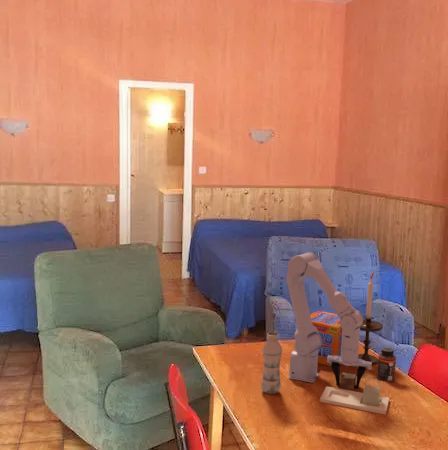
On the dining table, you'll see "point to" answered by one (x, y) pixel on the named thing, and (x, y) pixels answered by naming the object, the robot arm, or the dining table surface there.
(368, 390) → the sage block
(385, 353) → the supplement bottle
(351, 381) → the walnut block
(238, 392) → the dining table surface
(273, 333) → the plastic bottle
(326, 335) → the game box
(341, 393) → the base board
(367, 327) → the candlestick
